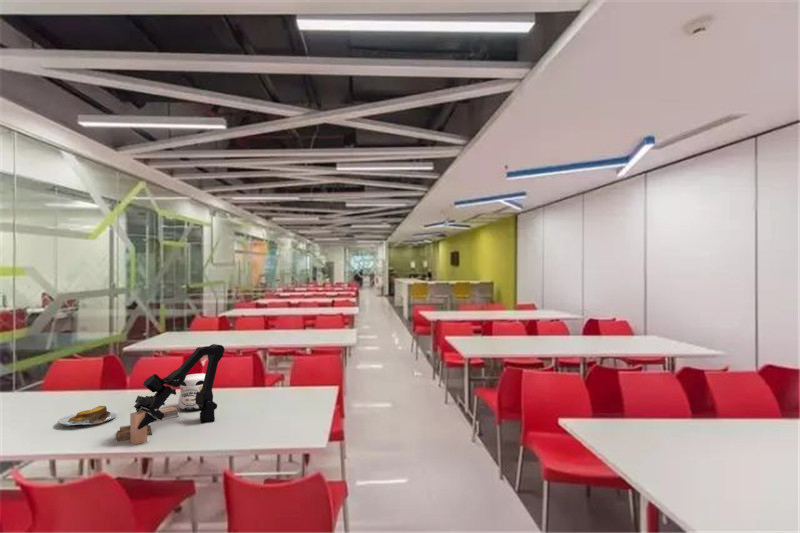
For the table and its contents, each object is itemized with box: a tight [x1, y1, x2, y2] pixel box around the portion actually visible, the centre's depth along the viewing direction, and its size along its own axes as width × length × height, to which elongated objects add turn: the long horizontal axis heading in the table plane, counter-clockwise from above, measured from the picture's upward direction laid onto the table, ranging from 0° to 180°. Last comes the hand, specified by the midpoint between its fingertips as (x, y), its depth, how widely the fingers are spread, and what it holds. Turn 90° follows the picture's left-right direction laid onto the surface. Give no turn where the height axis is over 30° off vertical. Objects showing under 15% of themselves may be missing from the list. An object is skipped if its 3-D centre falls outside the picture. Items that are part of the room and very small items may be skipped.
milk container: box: [178, 372, 206, 411], centre depth 254 cm, size 17×17×18 cm
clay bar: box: [129, 411, 148, 445], centre depth 204 cm, size 5×5×13 cm
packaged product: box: [153, 406, 180, 423], centre depth 236 cm, size 18×5×10 cm
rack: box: [116, 424, 153, 442], centre depth 214 cm, size 14×13×3 cm
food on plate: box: [57, 405, 118, 427], centre depth 233 cm, size 25×25×7 cm
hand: (135, 427), depth 203 cm, fingers closed on clay bar, 5 cm apart
